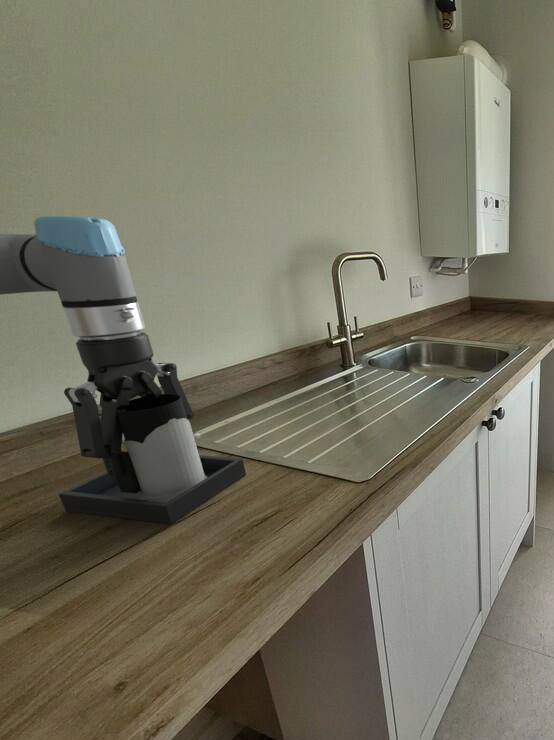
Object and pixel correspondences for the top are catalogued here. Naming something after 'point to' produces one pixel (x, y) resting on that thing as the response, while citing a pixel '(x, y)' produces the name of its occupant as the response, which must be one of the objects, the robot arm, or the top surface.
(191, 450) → the black and white mug
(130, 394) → the robot arm
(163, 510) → the tray
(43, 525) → the top surface
